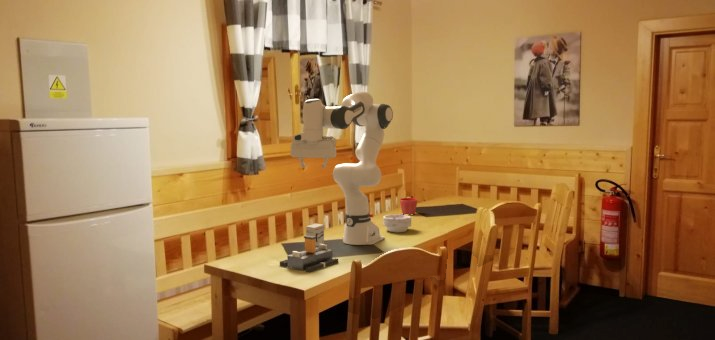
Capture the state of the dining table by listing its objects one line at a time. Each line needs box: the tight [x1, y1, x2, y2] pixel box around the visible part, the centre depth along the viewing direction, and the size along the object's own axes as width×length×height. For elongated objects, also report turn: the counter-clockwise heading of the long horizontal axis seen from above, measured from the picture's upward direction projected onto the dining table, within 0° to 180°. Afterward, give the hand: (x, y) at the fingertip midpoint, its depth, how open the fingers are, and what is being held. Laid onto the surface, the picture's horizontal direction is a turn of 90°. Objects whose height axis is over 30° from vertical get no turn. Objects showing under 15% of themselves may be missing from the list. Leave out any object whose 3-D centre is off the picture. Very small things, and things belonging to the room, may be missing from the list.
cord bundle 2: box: [305, 258, 339, 273], centre depth 227 cm, size 18×2×2 cm, turn 141°
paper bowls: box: [382, 214, 412, 233], centre depth 295 cm, size 15×15×8 cm
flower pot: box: [399, 197, 418, 215], centre depth 341 cm, size 11×11×10 cm
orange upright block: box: [303, 235, 316, 253], centre depth 230 cm, size 2×5×6 cm, turn 51°
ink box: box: [305, 223, 325, 247], centre depth 255 cm, size 8×5×12 cm, turn 152°
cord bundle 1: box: [279, 258, 288, 268], centre depth 236 cm, size 18×4×2 cm, turn 141°
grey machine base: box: [286, 243, 333, 272], centre depth 231 cm, size 18×9×7 cm, turn 141°
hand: (313, 167), depth 239 cm, fingers open, 8 cm apart
